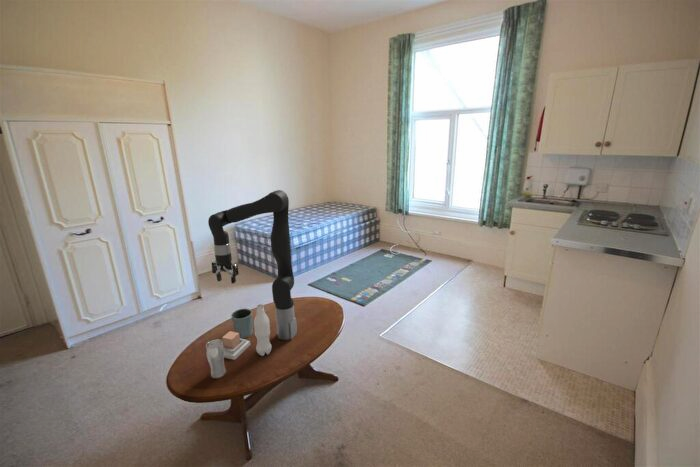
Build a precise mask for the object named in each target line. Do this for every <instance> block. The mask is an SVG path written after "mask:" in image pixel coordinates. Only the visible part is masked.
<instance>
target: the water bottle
mask: <svg viewBox="0 0 700 467" xmlns="http://www.w3.org/2000/svg"><path fill="white" fill-rule="evenodd" d="M253 329H254V335H255V337H256V340H257V342H256V346H255V351H256V353H257V354H258V355H259V356H261V357H264V356H265V354H266V355H270V353H271V351H272V344H271V342H270V334H271V326H270V318H269V316H268V315H267V314H266V312H265V307H264V304H263V303H262V304H261V303H260V304H257V305H256V315H255V317H254V319H253Z"/></svg>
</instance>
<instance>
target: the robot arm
mask: <svg viewBox="0 0 700 467" xmlns="http://www.w3.org/2000/svg"><path fill="white" fill-rule="evenodd" d="M289 205H290V202H289V196H288V194H287V193H286V192H285V191H284V190H281V189H277V190H274V191H272V192H270V193H268V194H267V195H265V196H263V197H262V198H260V199H258V200H256V201H253V202H252V201H251V202H250V203H244V204H240V205H237V206H234V207H231V208H229V209H227V210H221V211H218V212H217V213H214V214H211V215H210V216H209V217H208V223H207V224H208V227H209V229H210V232H211V235H212V237H213V245H214V247H213V249H214V256H215V260H214V261H212V262H211V272H212V273H213V274H215V276H216V280H217V282H221V281H222V272H224V273H227V274H228V275H229V276H230V282H231V283H230V284H235V283H236V282H237V280H236V277H237V276H238V275H239V274H240V273H239V267H238V263H235V264H234V263H232V260H233V258H232V249H231V244H230V236H229V235H230V234H229V233H228V232H227V231H225V230H224V228H223V227H225V226H228V225H230V224H232V223H234V224H235V223H238V222H241V221H244V220H247V219H251V218H253V217H255V216H258V215H259V216H260V215H263V214H270V213H273V223H272V228H271V233H270V247H271V249H270V250H271V253H272V256H273V258H274V260H275V261H276V265H277V276H276V279H274V281H273V282H272V286H271V291H272V293H271V294H272V299H273V303H274V306H275V307H274V308H275V309H274V310H275V319H276V334H277V338H278V339H280V340H282V341H286V340H287V341H288V340H293V338H294V337H295V336H297V333H298V331H297V330H298V327H297V317H295V306H294V305H295V304H294V299H293V298H292V295H291V291H292V289H293V288H294V286H295V277H294V272H293V271H294V270H293V266H292V250H291V249H292V247H291V246H292V244H291V243H292V242H291V234H290V224H289V209H290V208H289V207H290V206H289Z"/></svg>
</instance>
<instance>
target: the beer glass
mask: <svg viewBox="0 0 700 467" xmlns="http://www.w3.org/2000/svg"><path fill="white" fill-rule="evenodd" d="M205 349H206V350H205V351H206V353H205V354H206V359H207V361H208V364H209V366H210V377H211V378H212V379H220V378H222V377H223V376H224V375H225V374H226V373H227V370H226V367H225V357H224V346H223V340H222V339H217V338H216V339H213V340H212V339H211V340H210V341H207V343H206V344H205Z"/></svg>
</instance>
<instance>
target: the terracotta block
mask: <svg viewBox="0 0 700 467" xmlns="http://www.w3.org/2000/svg"><path fill="white" fill-rule="evenodd" d="M221 340H222V342H223V346H224V347H225V348H229V349H234V348H235V347H236V346H237V345H239V344H240V335H239V333H236V332H235V331H231V330H230V331H228V332H227V333H226V334H225V335H223V336H222V338H221Z"/></svg>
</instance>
